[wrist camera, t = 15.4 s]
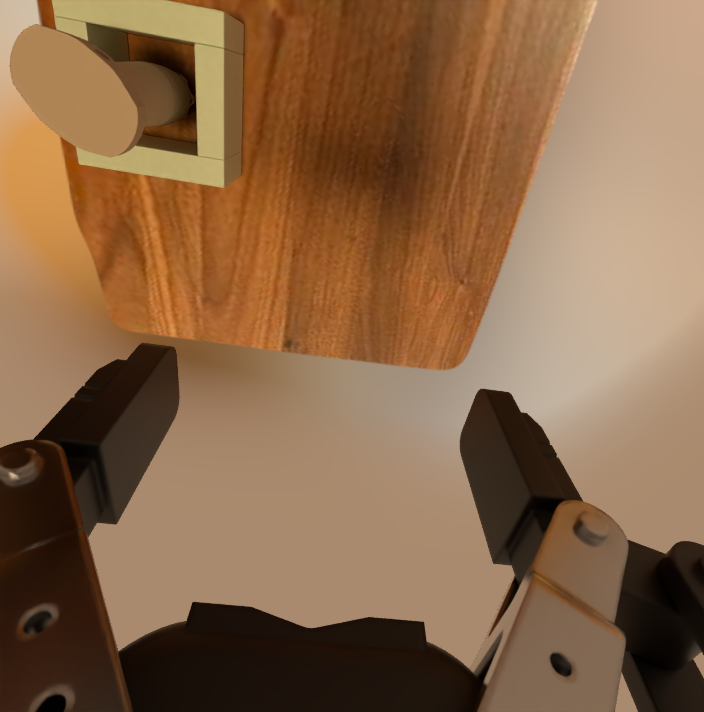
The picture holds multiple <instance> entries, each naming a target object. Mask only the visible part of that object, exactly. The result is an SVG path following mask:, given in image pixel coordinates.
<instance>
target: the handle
mask: <svg viewBox="0 0 704 712" xmlns="http://www.w3.org/2000/svg"><path fill="white" fill-rule="evenodd" d="M10 72H11V77H12V81H13V84H14V85H15V87H16V89H17V90H18V91H19V93H20V94H21V96H22V97H23V98H24V100H25V101H26V103H27V104H28V105H29V107H30V108H31V109H32V111H33V112H34V113H35V114H36V116H37V117H38V118H39V119H40V120H41V121H42V122H43V123H44V124H45V125H47V126H48V127H49V128H50V129H52V130H53V131H54V132H56V133H57V134H58V135H60V136H61V137H62V138H64V139H65V140H66V141H68V142H69V143H71V144H72V145H74V146H76V147H78V148H80V149H83V150H85V151H88V152H92V153H95V154H98V155H102V156H106V157H109V158H112V157H115V156H118V155H121V154H124V153H126V152H128V151H130V150H131V149H132V148H133V147H134V146H135V145H136V144H137V142H138V141H139V139H140V138H141V136H142V133H143V131H144V128H145V126H160V125H166V124H169V123H172V122H174V121H176V120H178V119H180V118H183V117H185V116H186V115H187V114H188V110H189V107H190V106H191V105H192V104H194V103H195V97H194V96H193V95H192V93H191V91H190V89H189V87H188V80H187V79H186V78H185V77H184V76H183V75H181V74H179V73H175V72H173V71H172V70H170V69H168V68H166V67H163V66H161V65H157V64H154V63H149V62H143V61H125V62H115V61H114V60H113V59H112V58H111V57H110V56H108V55H107V54H106V53H104V52H103V51H101V50H100V49H99V48H97V47H96V46H94V45H93V44H91V43H90V42H88V41H87V40H84V39H82V38H80V37H77V36H74V35H72V34H69V33H66V32H63V31H59V30H56V29H53V28H49V27H46V26H42V25H37V24H35V25H32V26H30V27H28V28H26V29H25V30H23V31H22V32H21V34H20V35H19V36H18V37H17V39H16V41H15V44H14V46H13V49H12V52H11V57H10Z"/></svg>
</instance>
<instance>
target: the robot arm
mask: <svg viewBox="0 0 704 712" xmlns="http://www.w3.org/2000/svg"><path fill="white" fill-rule="evenodd" d="M178 383H179V381H178V367H177V354H176V350H175V348H174V347H171V346H164V345H156V344H149V343H141V344H140V345H139V346H138V347H137V348H136V350H135V351H134V352H133V353H132V354H131V355H130V356H129V358H128V359H127V360H119V359H117V360H115V361H113V362H111V363H109V364H107V365H106V366H104V367H102V368H100V369H98V370H97V371H96V372H95V373H94V374H93V375H92V377H90V379H89V380H88V381H87V382H86V383H85V386H82V387H81V388H80V389H79V390H78V392H77V393H76V394H75V397H74V398H71V399H70V400H69V401H68V402H67V404H66V405H65V406H64V407H63V408H62V409H61V410H60V411H59V412H58V413H57V414H56V415H55V417H54V418H53V419H52V420H51V421H50V422H49V423H48V424H47V425H46V426H45V428H43V430H42V431H41V432H40V433H39V434H38V435H37V436H36V437H35V438H34V439H33V440H25V441H20V442H16V443H12V444H10V445H7V446H4V447H2V448H0V712H615V707H616V701H617V694H618V689H619V682H620V676H621V672H622V674H623V676H624V679H625V681H626V684H627V686H628V688H629V691H630V693H631V696H632V698H633V700H634V703H635V705H636V708H637V710H638V712H704V678H703V676H702V675H701V672H700V671H699V669H698V667H697V665H696V663H695V662H694V660H693V658H695V657H696V656H697V655H698V654H699V653H701V652H703V655H704V545H701V544H698V543H694V542H689V541H682V542H678V543H676V544H675V545H674V546H673V547H672V548H671V549H670V550H669V551H668V552H667V553H666V554H664V553H662V552H659V551H656V550H654V549H651V548H648V547H646V546H643V545H640V544H638V543H635V542H632V541H630V540H627V538H626V536H625V534H624V532H623V530H622V529H621V528H620V526H619V525H618V524H617V523H616V522H615V521H614V520H613V519H612V518H611V517H610V516H609V515H607V514H606V513H605V512H603V511H602V510H600V509H599V508H597V507H595V506H593V505H591V504H588V503H585V502H583V500H582V498H581V497H580V495H579V493H578V491H577V490H576V488H575V486H574V484H573V482H572V481H571V479H570V477H569V475H568V474H567V472H566V470H565V468H564V466H563V465H562V463H561V461H560V459H559V458H557V457H556V456H557V454H556V452H555V450H554V449H553V447H552V445H550V442H549V440H548V438H547V436H546V434H545V433H544V431H543V429H542V428H541V426H540V425H539V424H538V423H537V422H535V421H534V420H533V419H532V418H531V417H530V416H529V415H528V414H527V413H521V412H520V410H519V408H518V406H517V404H516V402H515V400H514V399H513V396H512V395H511V394H510V393H509V392H503V391H495V390H488V389H480V390H479V391H478V392H477V394H476V396H475V399H474V401H473V404H472V406H471V409H470V412H469V414H468V417H467V419H466V422H465V425H464V427H463V430H462V432H461V438H460V453H461V457H462V460H463V463H464V467H465V470H466V474H467V477H468V480H469V483H470V487H471V490H472V494H473V497H474V501H475V504H476V507H477V511H478V514H479V517H480V521H481V524H482V528H483V531H484V534H485V537H486V541H487V544H488V548H489V551H490V554H491V558H492V561H493V564H503V565H512V568H513V571H514V574H515V576H514V577H513V579H512V580H511V582H510V584H509V586H508V589H507V591H506V593H505V595H504V597H503V599H502V602H501V604H500V606H499V608H498V610H497V613H496V615H495V617H494V619H493V621H492V623H491V626H490V628H489V630H488V632H487V634H486V637H485V639H484V641H483V643H482V645H481V647H480V649H479V651H478V653H477V655H476V657H475V659H474V661H473V662H472V664H471V666H470V668H467V667H466V666H465V665H464V664H463V663H462V662H461V661H459V660H458V659H457V658H455V657H454V656H452V655H451V654H449V653H448V652H446V651H445V650H443V649H441V648H439V647H437V646H435V645H434V644H431V643H429V642H427V641H426V634H425V627H424V622H419V621H407V620H396V619H385V618H384V619H383V618H373V617H368V618H362V619H357V620H352V621H347V622H343V623H337V624H332V625H327V626H323V627H317V628H306V627H303V626H300V625H297V624H295V623H292V622H290V621H287V620H284V619H282V618H279V617H276V616H274V615H271V614H269V613H266V612H263V611H261V610H258V609H255V608H253V607H246V606H234V605H223V604H212V603H211V604H210V603H199V602H193V603H192V606H191V609H190V612H189V615H188V618H187V621H184V622H179V623H175V624H172V625H169V626H166V627H162V628H160V629H158V630H155V631H153V632H151V633H148V634H146V635H144V636H143V637H141V638H139V639H137V640H136V641H134V642H132V643H130V644H129V645H127V646H126V647H124V648H123V649H122V650H120V651H119V652H118V648H117V645H116V641H115V637H114V633H113V630H112V626H111V622H110V618H109V615H108V611H107V607H106V603H105V600H104V596H103V592H102V588H101V585H100V581H99V577H98V573H97V570H96V566H95V562H94V558H93V554H92V551H91V547H90V543H89V540H88V537H89V535H90V534H91V532H92V530H93V529H94V527H95V525H96V523H107V524H117V523H118V521H119V519H120V517H121V515H122V513H123V512H124V510H125V508H126V506H127V504H128V503H129V501H130V499H131V497H132V495H133V493H134V492H135V490H136V488H137V486H138V484H139V482H140V480H141V479H142V477H143V475H144V473H145V472H146V470H147V468H148V466H149V464H150V462H151V461H152V459H153V457H154V455H155V453H156V451H157V450H158V448H159V446H160V444H161V442H162V441H163V439H164V437H165V435H166V433H167V432H168V430H169V428H170V426H171V424H172V422H173V421H174V418H175V416H176V414H177V410H178V405H179V384H178Z"/></svg>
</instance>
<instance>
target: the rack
mask: <svg viewBox="0 0 704 712" xmlns="http://www.w3.org/2000/svg"><path fill="white" fill-rule="evenodd" d="M52 4H53V10H54V15H55V16H56V17H54V18H55V24H56V30H59V31H63V32H66V33H69V34H72V35H74V36H77V37H80V38H82V39H84V40H87V41H88V42H90V43H91V44H93V45H94V46H96V47H97V48H99V49H100V50H101V51H103V52H104V53H106V54H107V55H108V56H110V57H111V58H112V59H113V60H114V61H115V62H125V61H129V52H128V41H127V33H129V34H135V35H140V36H145V37H150V38H156V39H161V40H166V41H172V42H177V43H182V44H187V45H193V46H194V47H195V80H196V113H197V144H196V143H190V142H184V141H178V140H172V139H167V138H161V137H155V136H149V135H143V134H142V136H141V138H140V139H139V141H138V142H137V144H136V145H135V146H134V147H133V148H132V149H131V150H130V151H128V152H126V153H124V154H121V155H118V156H115V157H112V158H109V157H106V156H102V155H98V154H95V153H92V152H88V151H85V150H83V149H80V148H78V147H76V150H77V156H78V162H79V164H81V165H88V166H94V167H100V168H106V169H112V170H118V171H124V172H130V173H136V174H142V175H149V176H155V177H161V178H167V179H173V180H179V181H185V182H191V183H197V184H203V185H209V186H216V187H222V188H224V187H226V186H227V185H229V184H230V183H231V182H233V181H234V180H235V179H237V178H238V177H239V176H241V163H242V152H241V151H242V108H243V57H244V56H243V53H244V24H243V23H241V22H240V21H238V20H237V19H235V18H233V17H232V16H230V15H229V14H227V13H225V12H224V11H220V10H215V9H210V8H205V7H200V6H195V5H190V4H185V3H180V2H175V1H170V0H52Z"/></svg>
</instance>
